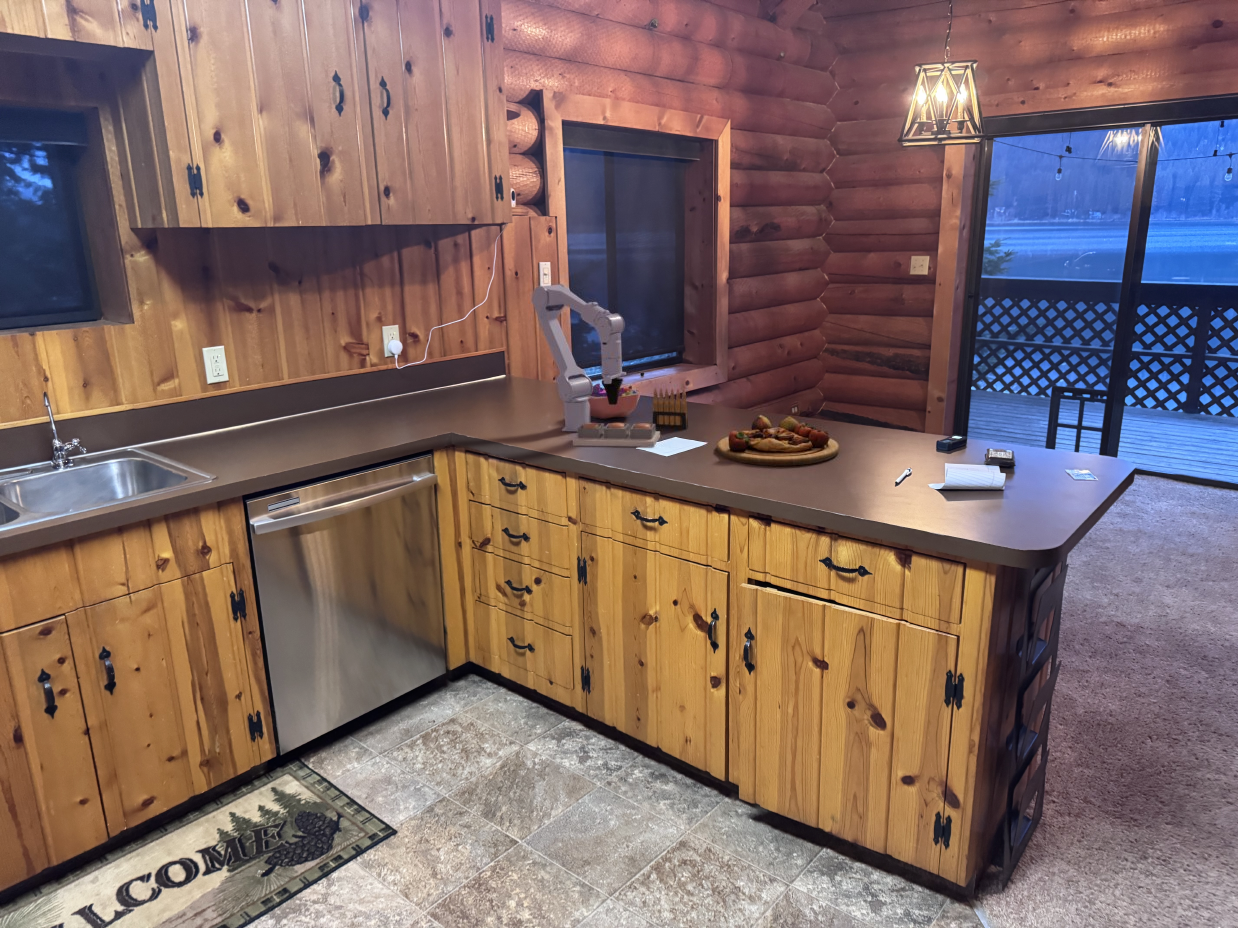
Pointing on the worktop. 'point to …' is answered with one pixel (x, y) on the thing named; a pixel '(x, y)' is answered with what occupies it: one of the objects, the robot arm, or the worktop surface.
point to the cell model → (604, 410)
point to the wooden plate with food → (778, 444)
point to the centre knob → (616, 425)
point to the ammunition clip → (670, 410)
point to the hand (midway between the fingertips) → (613, 404)
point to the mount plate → (616, 436)
